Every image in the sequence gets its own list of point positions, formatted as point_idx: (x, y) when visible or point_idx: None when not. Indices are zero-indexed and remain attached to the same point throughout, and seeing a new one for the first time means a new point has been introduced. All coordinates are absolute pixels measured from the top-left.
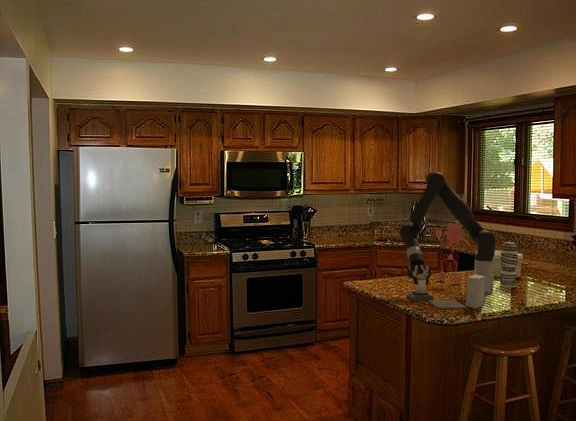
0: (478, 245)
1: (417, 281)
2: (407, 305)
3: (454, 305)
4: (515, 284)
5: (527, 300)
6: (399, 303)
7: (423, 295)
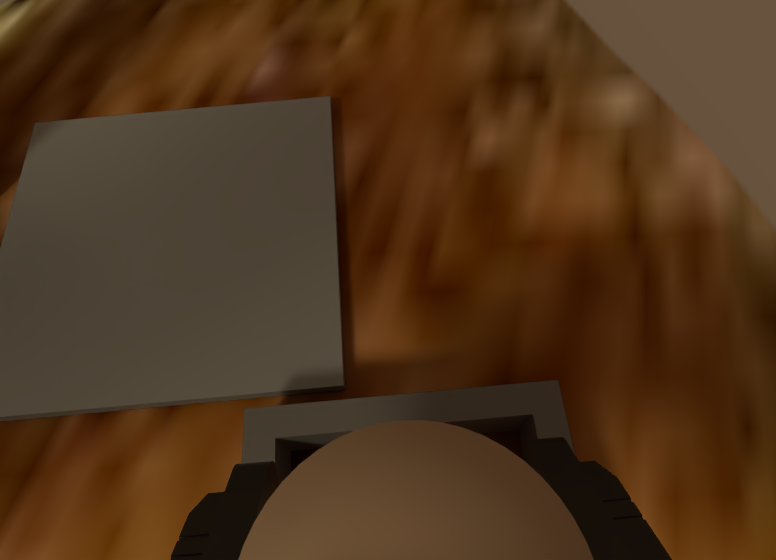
0: None
1: (538, 460)
2: (633, 189)
3: (123, 168)
4: None
5: None
6: (731, 262)
7: None
